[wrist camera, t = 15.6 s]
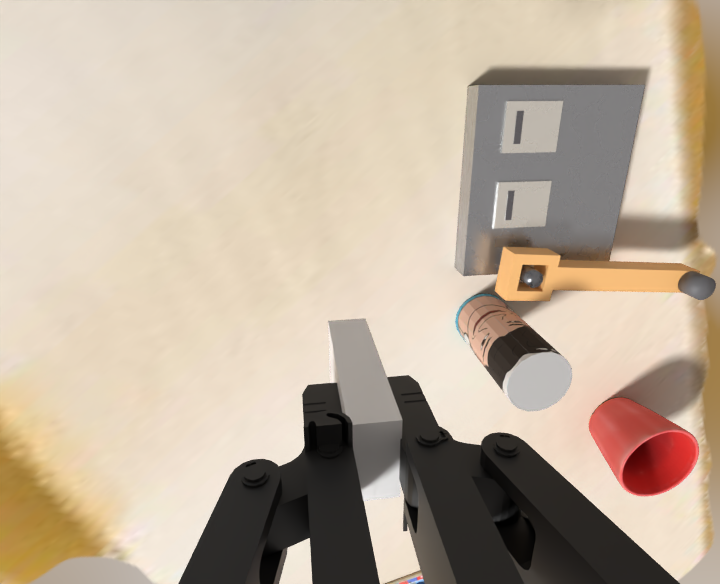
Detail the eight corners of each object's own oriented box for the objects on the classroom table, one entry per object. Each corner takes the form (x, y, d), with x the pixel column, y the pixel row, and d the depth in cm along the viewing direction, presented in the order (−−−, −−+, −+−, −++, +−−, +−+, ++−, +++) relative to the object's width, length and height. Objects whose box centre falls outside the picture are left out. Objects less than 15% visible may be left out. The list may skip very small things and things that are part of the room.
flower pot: (570, 407, 67) (613, 454, 58) (640, 375, 67) (695, 417, 58) (585, 458, 71) (628, 509, 62) (651, 428, 71) (704, 475, 62)
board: (467, 86, 49) (500, 82, 41) (625, 85, 51) (682, 82, 44) (454, 267, 56) (479, 292, 49) (592, 260, 58) (636, 282, 51)
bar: (494, 290, 53) (514, 308, 48) (503, 246, 51) (524, 260, 46) (672, 294, 56) (706, 310, 52) (686, 252, 55) (723, 266, 50)
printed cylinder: (507, 290, 58) (575, 347, 44) (505, 337, 61) (569, 405, 47) (455, 297, 58) (508, 357, 44) (455, 345, 60) (505, 416, 46)
